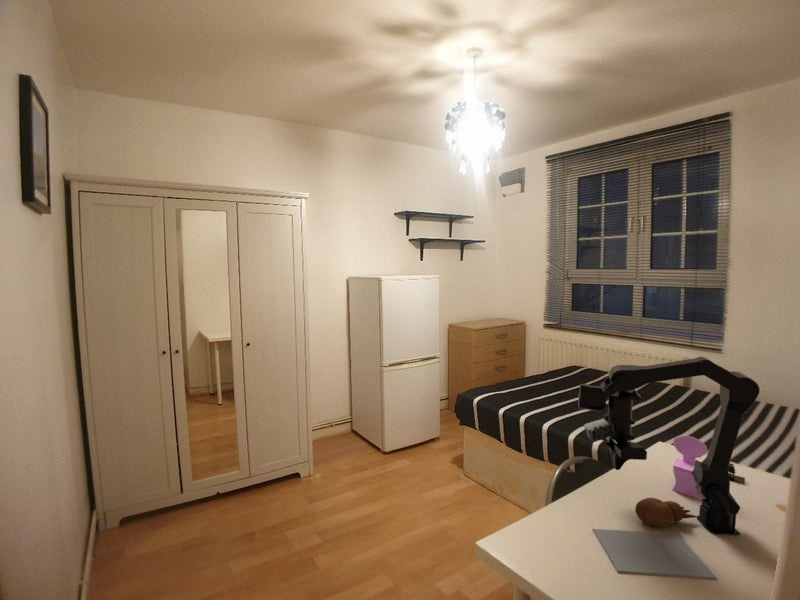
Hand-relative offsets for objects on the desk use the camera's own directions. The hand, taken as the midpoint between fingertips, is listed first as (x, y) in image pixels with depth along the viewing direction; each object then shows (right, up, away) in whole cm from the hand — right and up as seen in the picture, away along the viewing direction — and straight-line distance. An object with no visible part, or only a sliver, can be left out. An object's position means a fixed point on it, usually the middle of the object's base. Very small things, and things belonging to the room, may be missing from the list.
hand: (616, 469), depth 111 cm
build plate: (+43, -10, +17) cm, 47 cm away
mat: (-2, -12, -17) cm, 21 cm away
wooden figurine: (+2, -8, -8) cm, 11 cm away
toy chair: (+26, -10, +10) cm, 29 cm away
